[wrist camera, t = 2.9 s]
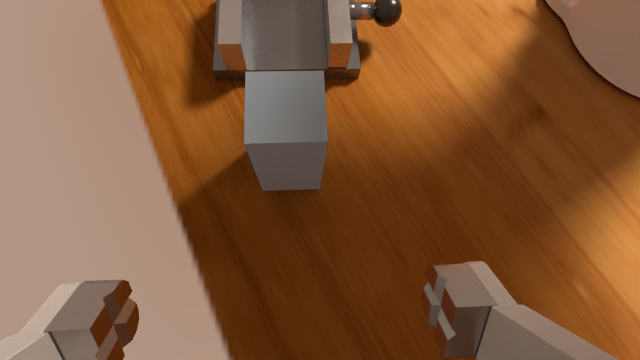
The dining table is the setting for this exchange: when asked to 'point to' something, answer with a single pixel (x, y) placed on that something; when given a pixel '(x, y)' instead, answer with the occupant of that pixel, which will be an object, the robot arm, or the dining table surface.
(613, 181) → the dining table surface
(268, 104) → the steel block
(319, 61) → the vise
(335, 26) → the free jaw
